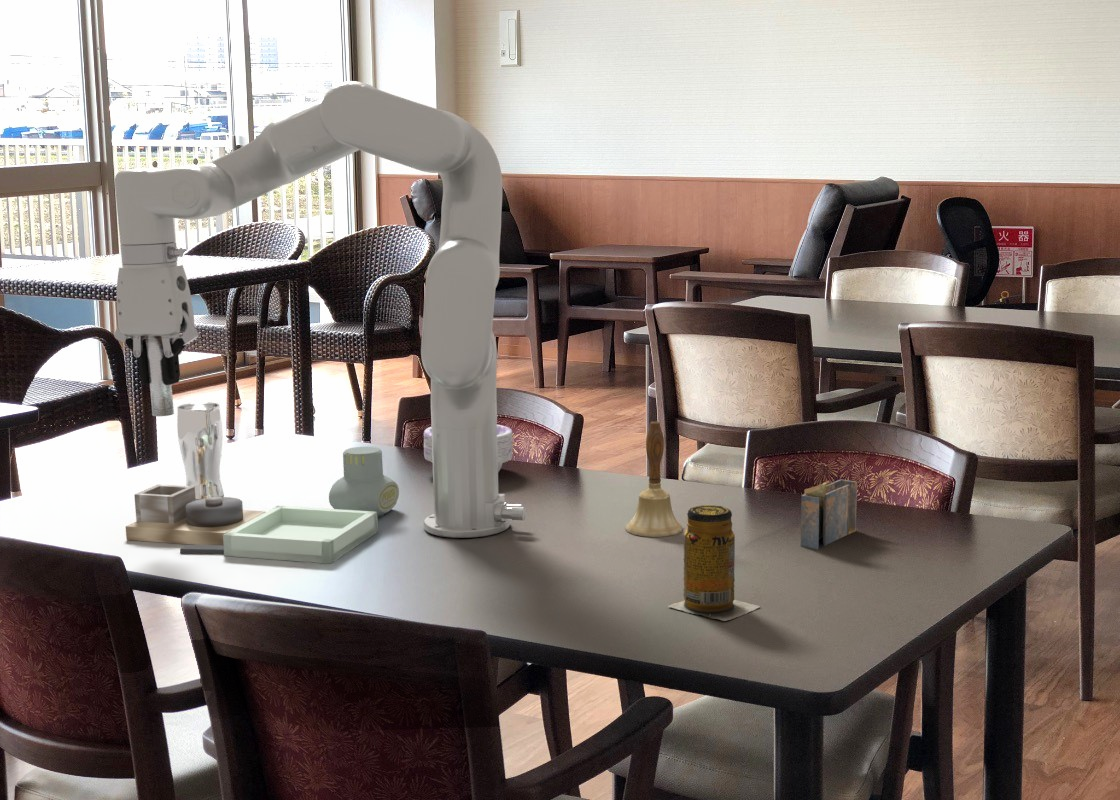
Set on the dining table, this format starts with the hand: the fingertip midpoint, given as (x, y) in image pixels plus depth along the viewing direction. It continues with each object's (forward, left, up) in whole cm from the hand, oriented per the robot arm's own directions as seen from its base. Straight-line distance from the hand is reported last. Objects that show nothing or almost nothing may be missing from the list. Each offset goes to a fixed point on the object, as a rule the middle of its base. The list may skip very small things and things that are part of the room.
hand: (160, 382), depth 196 cm
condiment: (-84, +16, -22) cm, 88 cm away
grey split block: (-94, -17, -23) cm, 99 cm away
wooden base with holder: (-5, 0, -22) cm, 23 cm away
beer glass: (+5, -19, -22) cm, 30 cm away
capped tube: (0, 0, -5) cm, 5 cm away
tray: (-23, +2, -22) cm, 32 cm away
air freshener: (-25, -15, -22) cm, 36 cm away
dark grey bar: (-15, +8, -22) cm, 28 cm away
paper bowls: (-32, -43, -22) cm, 58 cm away
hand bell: (-70, -16, -22) cm, 75 cm away
